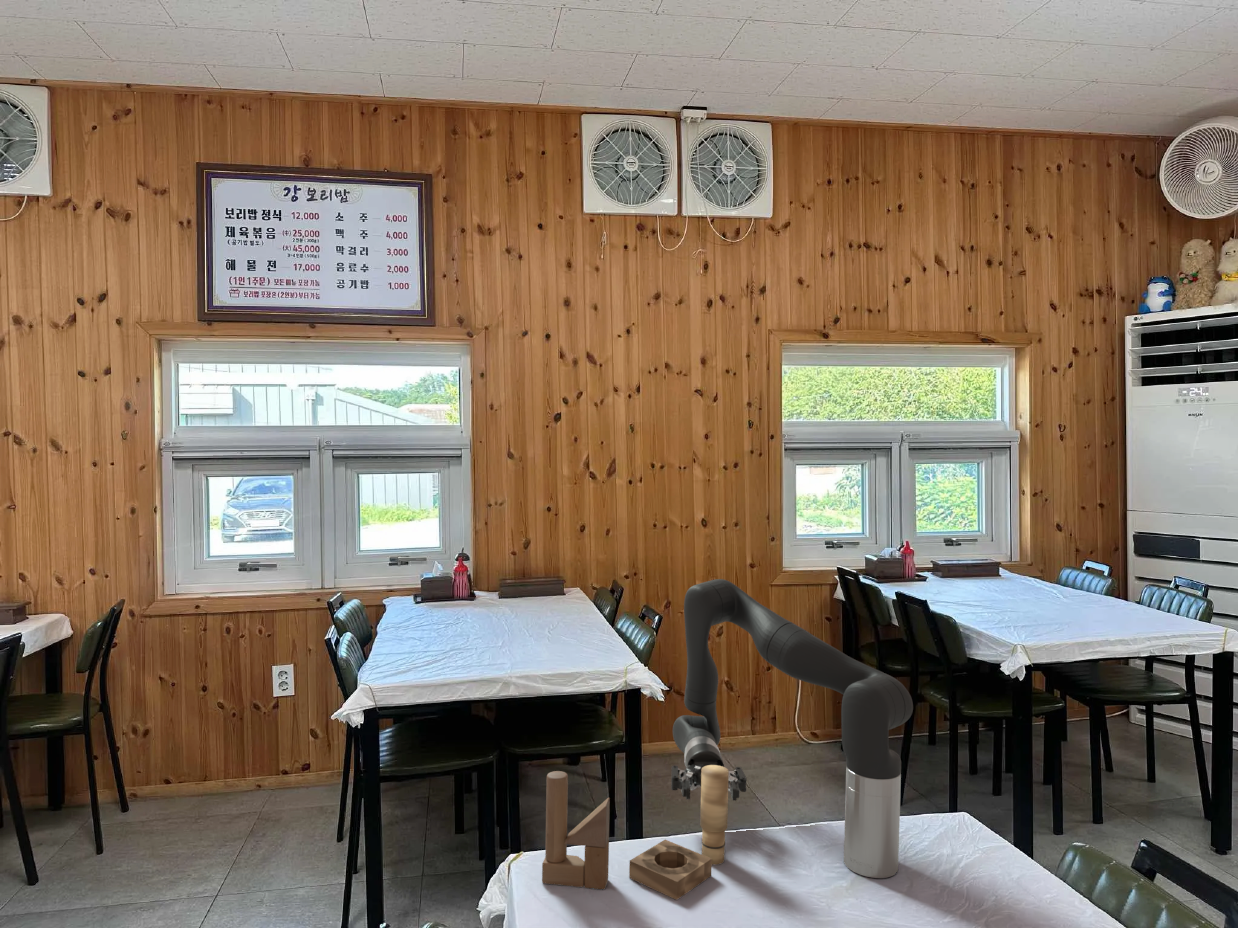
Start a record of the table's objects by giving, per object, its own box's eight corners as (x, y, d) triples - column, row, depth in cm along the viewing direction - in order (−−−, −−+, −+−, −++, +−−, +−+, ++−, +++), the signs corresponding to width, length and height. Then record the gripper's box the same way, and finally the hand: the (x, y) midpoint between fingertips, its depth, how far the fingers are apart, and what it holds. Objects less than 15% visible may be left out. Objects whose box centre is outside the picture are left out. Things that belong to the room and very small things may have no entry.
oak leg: (709, 849, 150) (711, 762, 150) (731, 858, 147) (733, 769, 146) (694, 859, 146) (696, 770, 146) (716, 868, 143) (718, 778, 143)
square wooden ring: (664, 855, 147) (665, 839, 147) (711, 875, 141) (711, 858, 141) (629, 877, 140) (629, 860, 140) (676, 899, 133) (677, 881, 133)
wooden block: (604, 890, 136) (606, 783, 135) (541, 884, 137) (543, 777, 137) (608, 879, 139) (610, 774, 139) (546, 872, 141) (548, 769, 140)
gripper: (668, 741, 167) (673, 773, 151) (738, 743, 167) (750, 775, 151) (668, 778, 167) (672, 814, 151) (738, 779, 167) (750, 815, 151)
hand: (711, 794), depth 151 cm, fingers open, 8 cm apart
